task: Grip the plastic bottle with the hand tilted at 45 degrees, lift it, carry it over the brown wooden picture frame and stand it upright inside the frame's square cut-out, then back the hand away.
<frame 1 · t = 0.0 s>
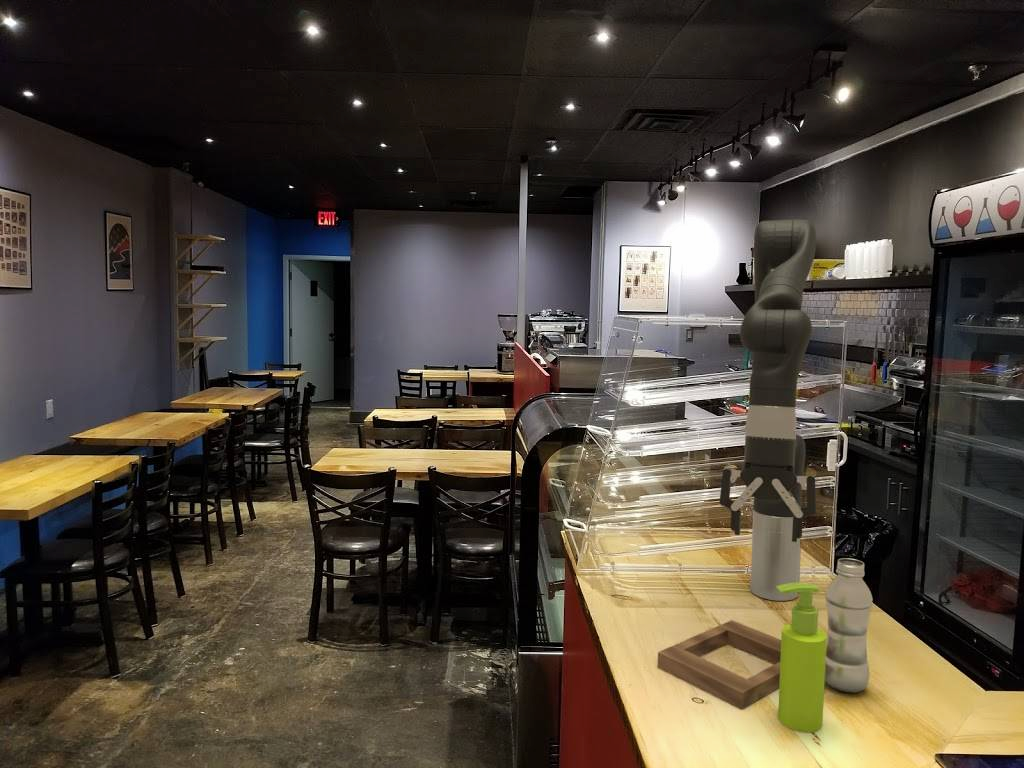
hand: (765, 537, 115), 22 cm above the table, tool pointing down, fingers open, 8 cm apart
soap dispenser: (796, 721, 103), on the table
plastic bottle: (844, 688, 113), on the table
brown wooden picture frame: (736, 667, 119), on the table
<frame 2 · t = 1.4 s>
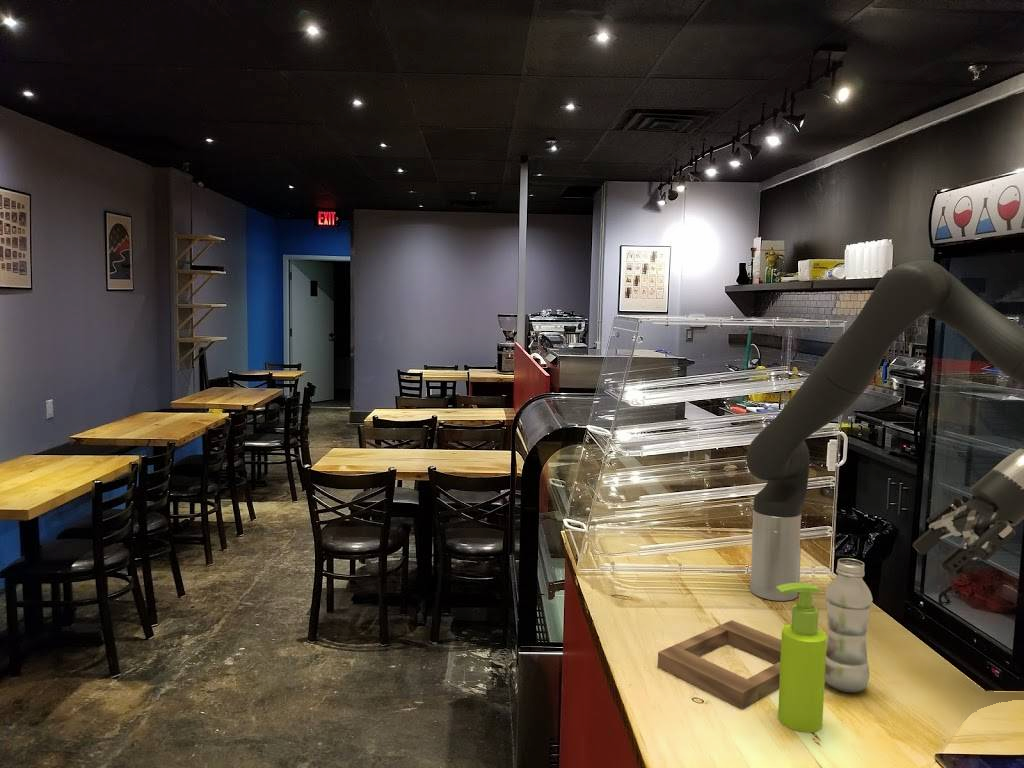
hand: (930, 559, 109), 21 cm above the table, tool tilted 45°, fingers open, 8 cm apart
nothing on the table moved.
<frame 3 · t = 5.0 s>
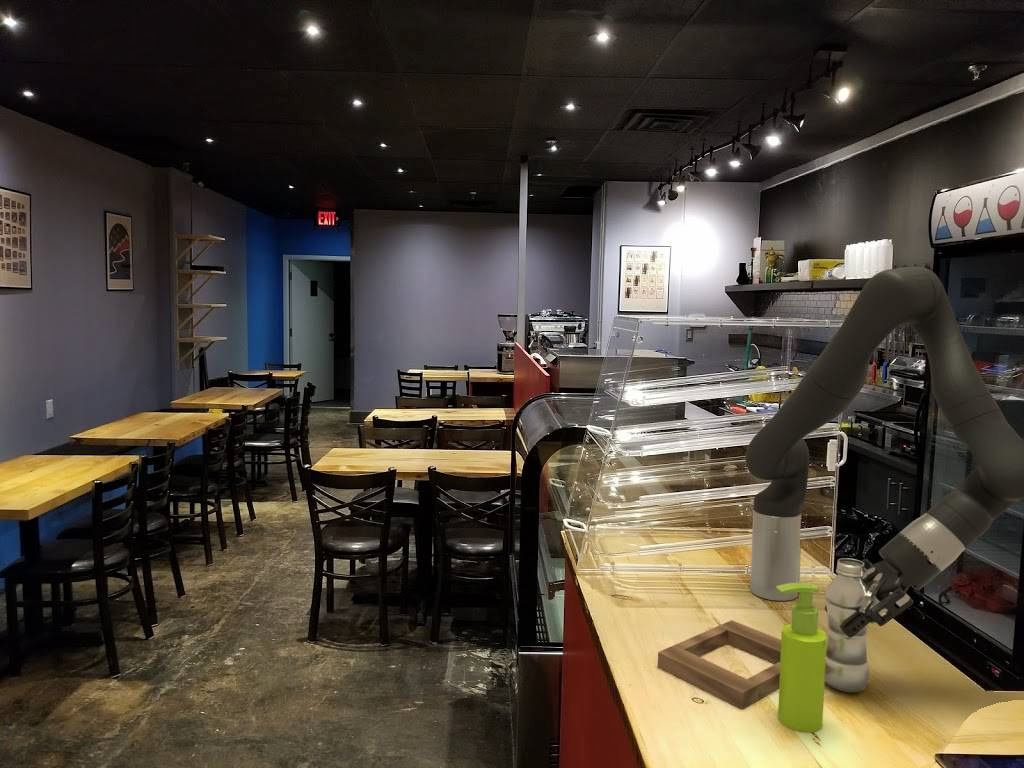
hand: (836, 622, 112), 10 cm above the table, tool tilted 45°, fingers closed on plastic bottle, 6 cm apart
plastic bottle: (844, 688, 113), on the table, touching gripper
everything else where it was.
when the fingers open (12 cm above the table, at t = 13.0 s): plastic bottle drops 1 cm, resting in brown wooden picture frame.
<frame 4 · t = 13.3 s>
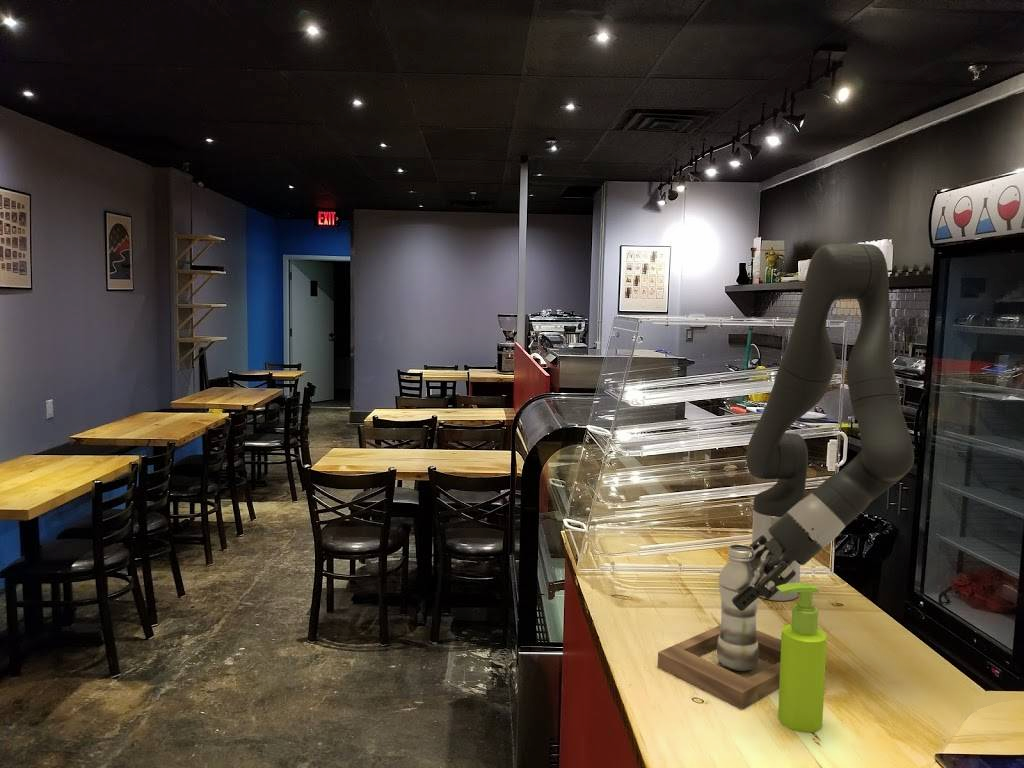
hand: (730, 595, 117), 12 cm above the table, tool tilted 45°, fingers open, 8 cm apart
plastic bottle: (736, 667, 119), resting in brown wooden picture frame
everything else where it was.
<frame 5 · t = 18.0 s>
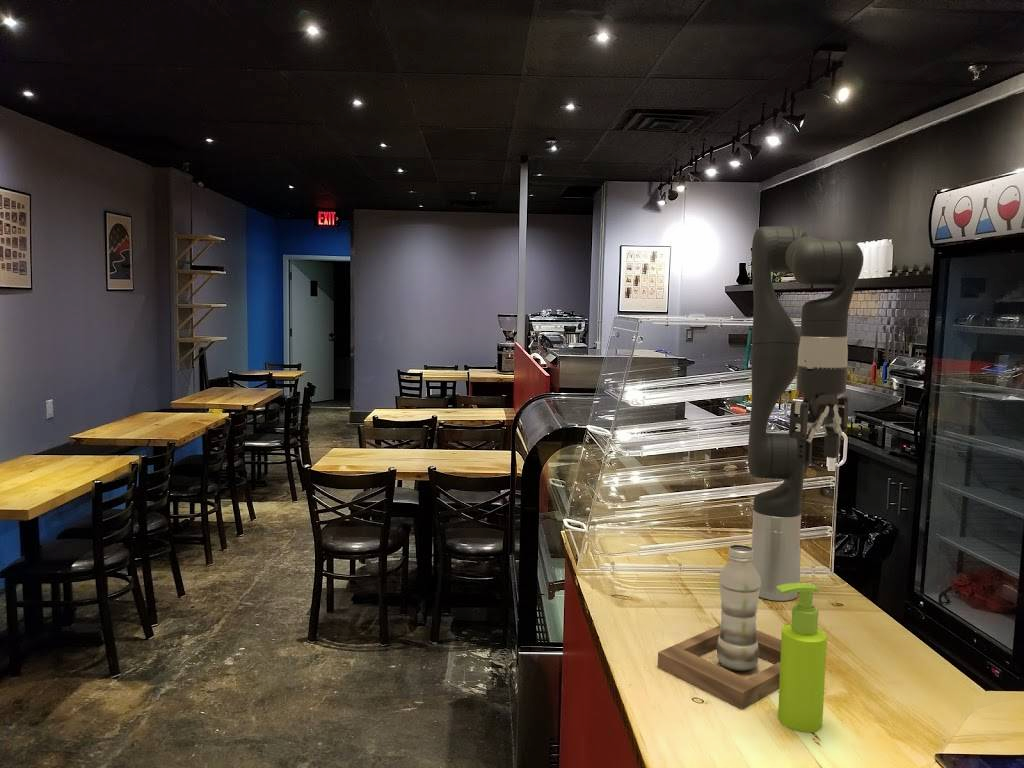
hand: (817, 460, 121), 33 cm above the table, tool pointing down, fingers open, 8 cm apart
nothing on the table moved.
at the end: plastic bottle inside the target area on the brown wooden picture frame (0.4 cm from its centre), point 0.0 cm above the brown wooden picture frame's base; plastic bottle tilted 0°; the gripper is holding nothing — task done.
